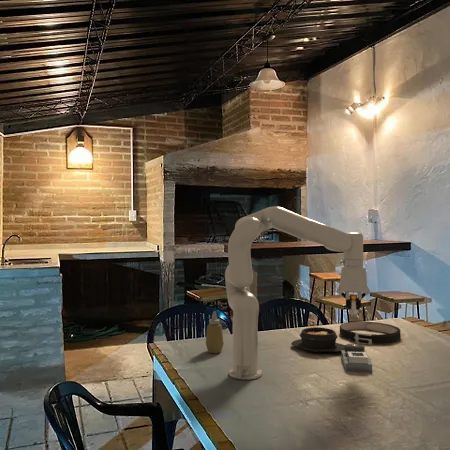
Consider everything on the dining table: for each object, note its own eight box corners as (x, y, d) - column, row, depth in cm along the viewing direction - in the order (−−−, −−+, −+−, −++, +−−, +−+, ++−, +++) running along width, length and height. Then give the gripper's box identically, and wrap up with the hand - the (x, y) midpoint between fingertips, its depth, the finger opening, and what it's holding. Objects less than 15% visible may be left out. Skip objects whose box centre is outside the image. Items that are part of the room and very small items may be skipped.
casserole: (284, 350, 206) (284, 332, 206) (299, 341, 223) (299, 323, 222) (340, 358, 194) (340, 339, 194) (351, 348, 210) (351, 329, 210)
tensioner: (372, 372, 177) (372, 355, 177) (345, 371, 178) (345, 354, 178) (365, 358, 194) (365, 342, 194) (341, 357, 196) (341, 341, 196)
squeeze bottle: (224, 349, 209) (224, 310, 209) (222, 354, 201) (222, 313, 201) (207, 349, 210) (206, 309, 210) (204, 354, 202) (204, 313, 202)
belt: (332, 340, 224) (332, 330, 223) (346, 327, 250) (346, 318, 250) (396, 348, 210) (396, 337, 210) (404, 333, 236) (403, 323, 236)
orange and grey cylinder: (357, 317, 182) (357, 295, 182) (349, 317, 182) (349, 295, 182) (356, 316, 185) (356, 293, 184) (349, 316, 185) (349, 293, 185)
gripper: (332, 264, 181) (332, 310, 181) (376, 264, 178) (376, 311, 178) (331, 262, 188) (331, 307, 188) (373, 262, 185) (373, 308, 186)
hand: (353, 308), depth 183 cm, fingers closed on orange and grey cylinder, 3 cm apart
